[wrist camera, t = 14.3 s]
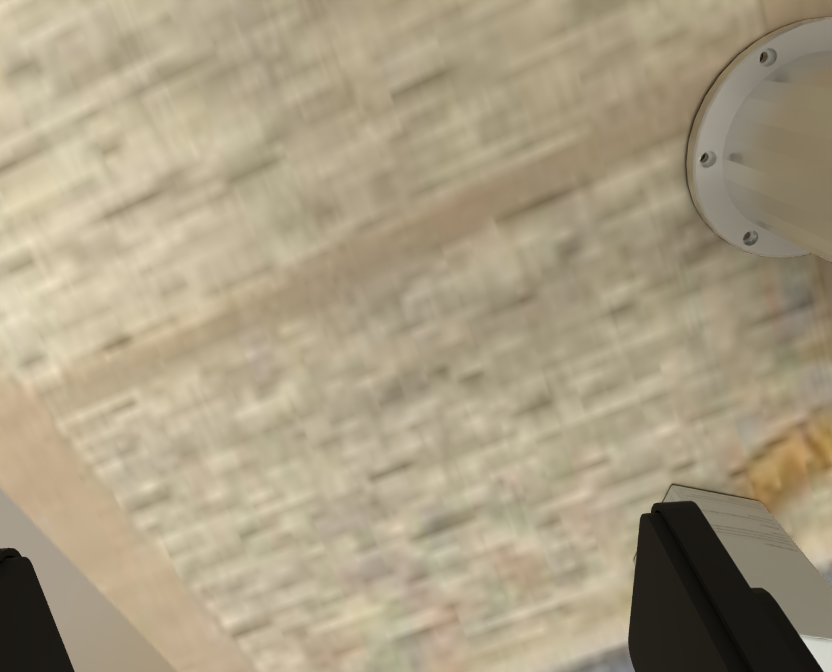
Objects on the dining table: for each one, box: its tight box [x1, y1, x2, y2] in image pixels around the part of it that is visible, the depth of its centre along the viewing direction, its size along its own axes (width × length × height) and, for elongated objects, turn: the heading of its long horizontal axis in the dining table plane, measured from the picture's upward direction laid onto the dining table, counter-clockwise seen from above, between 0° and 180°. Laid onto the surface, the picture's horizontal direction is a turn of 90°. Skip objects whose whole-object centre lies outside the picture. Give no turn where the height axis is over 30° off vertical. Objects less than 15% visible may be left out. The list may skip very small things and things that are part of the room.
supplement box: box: [634, 485, 832, 672], centre depth 43 cm, size 7×7×13 cm
